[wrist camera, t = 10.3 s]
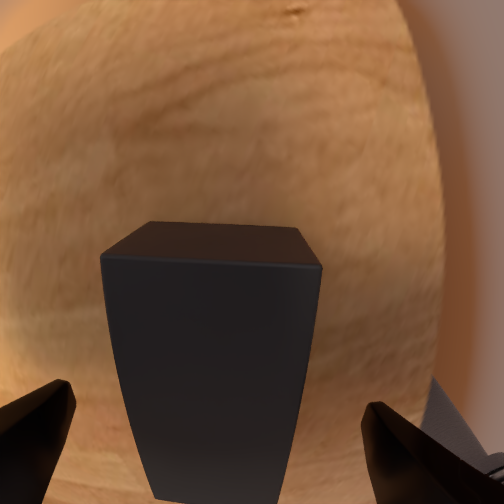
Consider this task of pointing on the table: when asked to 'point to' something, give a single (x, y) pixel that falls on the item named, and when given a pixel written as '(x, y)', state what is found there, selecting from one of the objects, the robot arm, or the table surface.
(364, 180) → the table surface
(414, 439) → the robot arm
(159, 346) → the black rectangular block
